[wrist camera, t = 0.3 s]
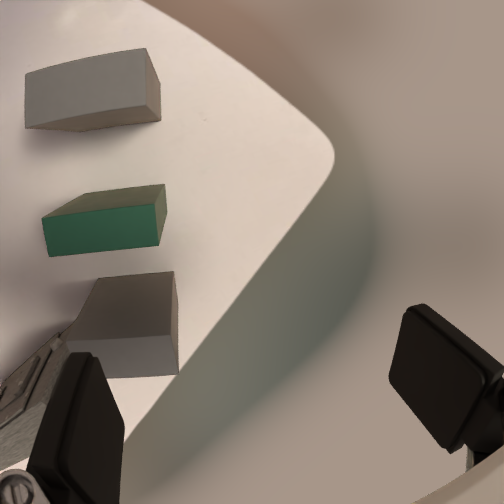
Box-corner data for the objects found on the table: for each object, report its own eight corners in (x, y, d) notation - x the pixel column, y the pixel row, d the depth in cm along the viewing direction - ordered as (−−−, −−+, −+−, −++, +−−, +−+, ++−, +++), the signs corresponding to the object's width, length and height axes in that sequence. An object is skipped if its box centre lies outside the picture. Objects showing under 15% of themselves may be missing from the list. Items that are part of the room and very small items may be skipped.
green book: (84, 193, 24) (41, 218, 15) (165, 183, 25) (154, 203, 17) (88, 221, 24) (48, 257, 16) (167, 212, 26) (159, 246, 17)
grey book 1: (78, 95, 21) (24, 73, 12) (160, 82, 22) (146, 47, 13) (79, 132, 22) (24, 128, 13) (161, 120, 23) (146, 105, 14)
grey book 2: (98, 278, 26) (65, 340, 17) (173, 271, 27) (170, 334, 18) (105, 309, 27) (80, 379, 18) (178, 303, 29) (178, 374, 19)
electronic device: (25, 404, 29) (-16, 532, 10) (-13, 368, 26) (-74, 490, 8) (106, 344, 28) (67, 529, 10) (59, 295, 26) (-35, 466, 7)
